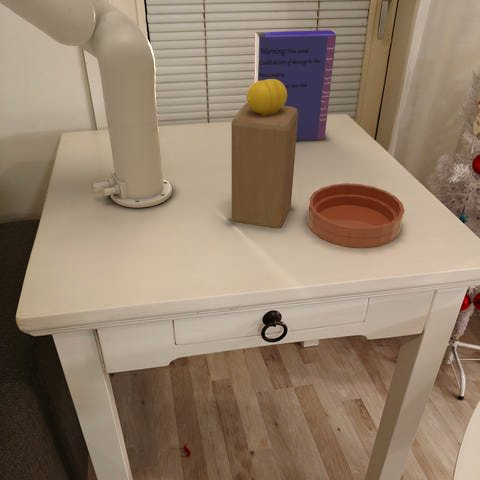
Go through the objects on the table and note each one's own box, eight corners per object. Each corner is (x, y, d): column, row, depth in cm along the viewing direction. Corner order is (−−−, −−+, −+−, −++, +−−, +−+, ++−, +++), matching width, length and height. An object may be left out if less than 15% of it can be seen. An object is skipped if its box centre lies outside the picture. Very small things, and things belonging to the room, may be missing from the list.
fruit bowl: (345, 260, 93) (349, 238, 90) (289, 217, 105) (290, 196, 102) (418, 234, 100) (424, 213, 97) (358, 196, 112) (361, 176, 109)
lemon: (254, 120, 89) (255, 88, 86) (239, 111, 92) (239, 79, 89) (293, 112, 92) (295, 81, 89) (276, 104, 95) (278, 73, 92)
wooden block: (291, 207, 108) (299, 105, 95) (281, 231, 100) (288, 125, 88) (243, 200, 110) (245, 100, 97) (230, 224, 102) (229, 118, 90)
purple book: (319, 132, 138) (330, 29, 123) (324, 139, 135) (336, 34, 119) (253, 135, 136) (255, 31, 121) (256, 143, 133) (259, 36, 117)
